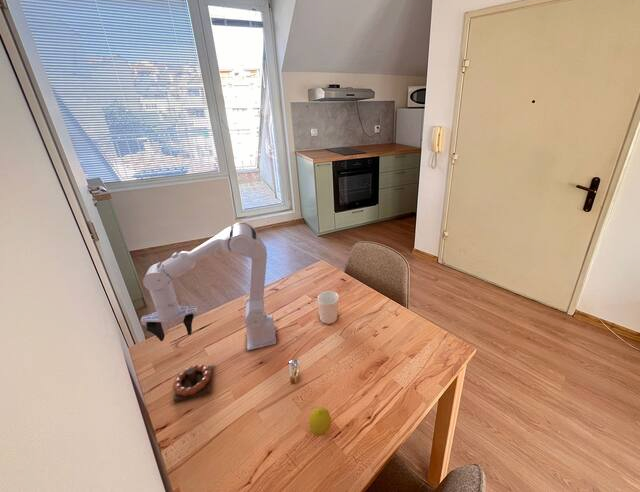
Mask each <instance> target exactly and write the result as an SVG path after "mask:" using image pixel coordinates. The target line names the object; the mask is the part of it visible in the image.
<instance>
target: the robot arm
mask: <svg viewBox="0 0 640 492" xmlns="http://www.w3.org/2000/svg"><path fill="white" fill-rule="evenodd" d="M220 251H222V252H225V253H228V254H231V251H232V252H233V253H234V254H237V255H239V256H243V257H246V258H250V273H249V289H248V297H247V300H246V301H245V302H244V303H245V304H244V307H245V319H244V324H245V328H246V335H247V336H246V337H247V339H246V340H247V341H246V345H247V347H246V348H247V349H246V350H247V351H251V350H255V349H260V348H264V347H267V346H273V345H276V344H277V338H276V334H277V330H276V328H275V321H274V315H273V314H267V313H266V311H265V300H264V296H265V285H266V282H265V281H266V272H267V260H268V251H267V246H266V245H265V243H264V241H263V240H262V239H261V237H260V235H259V234H258V232H257V230H256V228H254V227H253V226H252V225H251V224H249V223H247V222H243V221H239V222H237V223H235V224H233V225H232V226H228V227H226V228H225V229H223V230H222V231H221V232H219V233H218V234H216V235H215V236H213V237H211V238H209V239H208V240H206V241H205V242H203V243H202V244H200V245H199V246H197V247H195V248H194V249H192V250H190V251H187V250H186V251H185V250H182V251H180V252H177V251H175V252H174V253H173V254H172V255H171V256H170V257H169V258H167V259H166V260H164V261H162V262H161V261H159V262H157V263H155V264H152V265H150V267H148V269H147V272H146V274H145V275H144V276H143V279H142V284H143V286H144V287H145V289H147V290H149V293H150V296H151V299H152V302H153V305H154V308H155V312H153V313H149V314H146V315H143V316H141V318H140V323H141V325H142V326H146V328H145V329H146V331H147V332H150V333H151V334H153V335H154V336H155V337H157V338H158V340H159V341H160V342H163V341H164V340H165V337H166V336H165V332H164V329H163V326H162V323H169V322H173V321H175V320H178V319H180V318H183V317H184V318H183V321H182V323H183V325H184V326H185V328H186V334H187V336H191V335H192V332H193V320H194V317H195V316H197V315H198V312H199V309H198V306H180V304H179V300H178V297H177V294H176V291H175V287H174V284H173V282H172V280H175V279H177V278H178V277H180V276H182V275H184V274H185V273H187V272H189V271H191V270H192V269H194V268H195V266H196V263H197V262H199V261H201V260H203V259H205V258H207V257H210V256H211V255H213V254H215V253H217V252H220Z"/></svg>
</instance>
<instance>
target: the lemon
mask: <svg viewBox="0 0 640 492" xmlns="http://www.w3.org/2000/svg"><path fill="white" fill-rule="evenodd" d="M308 424H309V425H308V426H309V429H310V431H311V432H312V435H313V434H314V436H317V437H322V436H324V435H326V434H327V433H328V432H329V430H330V428H331V425H332V417H331V414H330V412H329V410H328V409H327V408H325V407H322V406H320V407H316V408H315V409H313V411H312V412H311V413H310V417H309V421H308Z"/></svg>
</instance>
